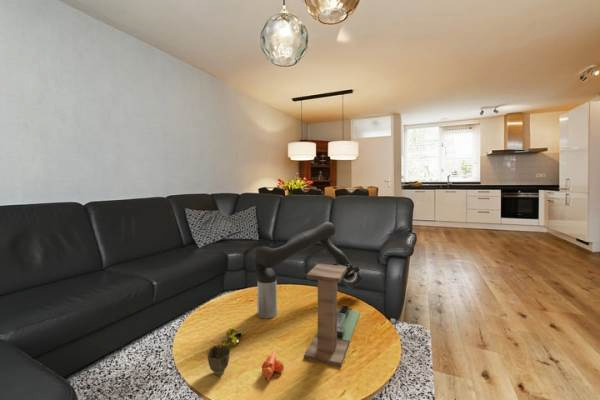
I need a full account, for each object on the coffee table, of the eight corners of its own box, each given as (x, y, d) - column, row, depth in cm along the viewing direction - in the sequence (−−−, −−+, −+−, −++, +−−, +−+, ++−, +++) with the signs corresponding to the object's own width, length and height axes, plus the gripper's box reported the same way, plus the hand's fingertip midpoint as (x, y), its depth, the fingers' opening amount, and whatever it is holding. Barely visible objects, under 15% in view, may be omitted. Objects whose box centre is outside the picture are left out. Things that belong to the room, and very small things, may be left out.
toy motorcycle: (228, 325, 123) (244, 325, 123) (228, 333, 123) (244, 334, 123) (219, 341, 111) (237, 341, 111) (219, 350, 111) (237, 351, 111)
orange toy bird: (268, 345, 105) (261, 366, 93) (287, 352, 105) (283, 374, 93) (264, 357, 105) (256, 380, 94) (283, 364, 105) (278, 388, 93)
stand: (315, 338, 119) (315, 263, 117) (348, 345, 114) (349, 267, 112) (303, 358, 106) (303, 274, 104) (341, 367, 101) (342, 278, 99)
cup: (224, 382, 94) (223, 358, 93) (203, 378, 95) (202, 356, 95) (233, 367, 101) (233, 345, 101) (214, 364, 103) (214, 343, 102)
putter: (338, 310, 143) (338, 304, 142) (354, 313, 140) (354, 307, 139) (323, 335, 120) (323, 328, 120) (342, 339, 117) (342, 332, 117)
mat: (332, 308, 146) (332, 307, 146) (360, 313, 141) (360, 311, 141) (316, 336, 121) (316, 334, 121) (349, 342, 116) (349, 340, 116)
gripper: (335, 264, 152) (328, 256, 138) (363, 267, 147) (359, 259, 133) (334, 279, 149) (326, 272, 135) (362, 282, 144) (357, 275, 130)
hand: (342, 265), depth 134 cm, fingers open, 6 cm apart
